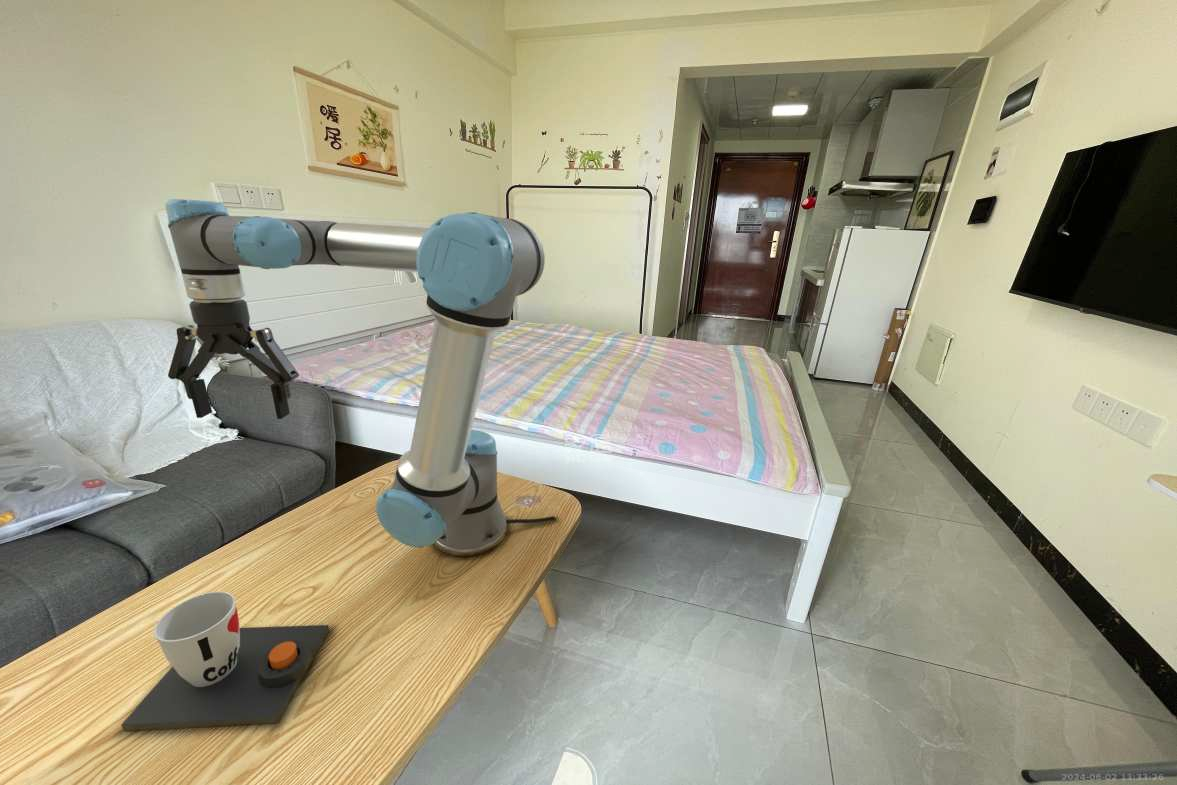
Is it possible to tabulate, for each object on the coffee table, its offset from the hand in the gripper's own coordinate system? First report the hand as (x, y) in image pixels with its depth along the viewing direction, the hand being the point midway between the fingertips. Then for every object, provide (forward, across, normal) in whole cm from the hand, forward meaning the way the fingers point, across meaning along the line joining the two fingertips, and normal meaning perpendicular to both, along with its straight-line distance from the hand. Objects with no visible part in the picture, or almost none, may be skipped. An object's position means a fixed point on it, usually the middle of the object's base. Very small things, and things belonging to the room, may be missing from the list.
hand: (244, 415), depth 80 cm
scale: (+27, +13, -31) cm, 43 cm away
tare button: (+24, +19, -31) cm, 44 cm away
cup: (+26, +10, -31) cm, 41 cm away
